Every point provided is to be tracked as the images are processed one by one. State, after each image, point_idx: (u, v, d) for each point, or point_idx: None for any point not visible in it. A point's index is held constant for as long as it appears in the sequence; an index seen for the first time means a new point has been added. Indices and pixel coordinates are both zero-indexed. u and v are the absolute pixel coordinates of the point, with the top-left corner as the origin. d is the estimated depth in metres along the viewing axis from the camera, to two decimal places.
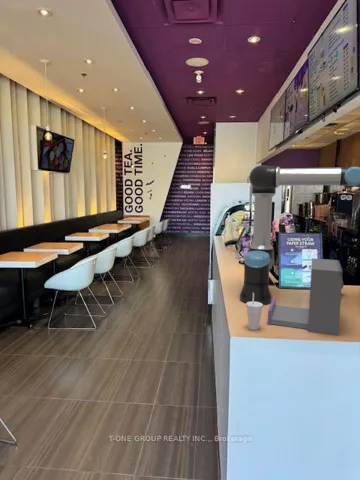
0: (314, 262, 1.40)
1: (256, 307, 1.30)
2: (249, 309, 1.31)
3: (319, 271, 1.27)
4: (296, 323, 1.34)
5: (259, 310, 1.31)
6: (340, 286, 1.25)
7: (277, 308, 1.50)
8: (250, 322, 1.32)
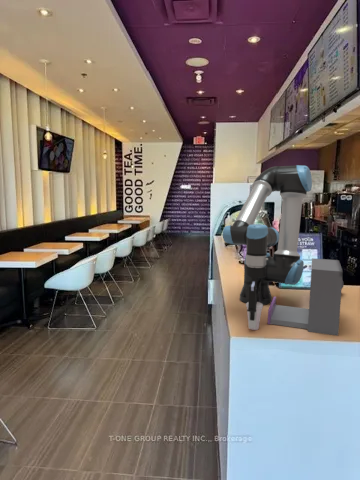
0: (314, 262, 1.40)
1: (256, 307, 1.30)
2: None
3: (319, 271, 1.27)
4: (296, 323, 1.34)
5: (259, 310, 1.31)
6: (340, 286, 1.25)
7: (277, 308, 1.50)
8: None
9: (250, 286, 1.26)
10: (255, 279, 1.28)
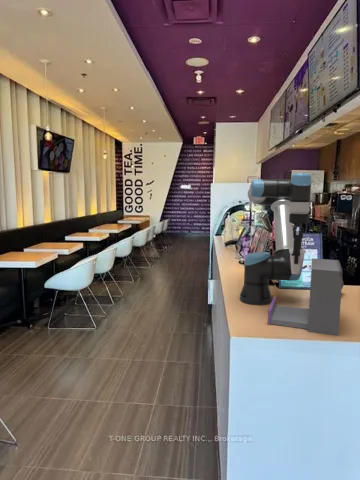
0: (314, 262, 1.40)
1: (300, 252, 1.37)
2: None
3: (319, 271, 1.27)
4: (296, 323, 1.34)
5: (302, 255, 1.38)
6: (340, 286, 1.25)
7: (277, 308, 1.50)
8: None
9: (295, 230, 1.33)
10: (299, 224, 1.35)
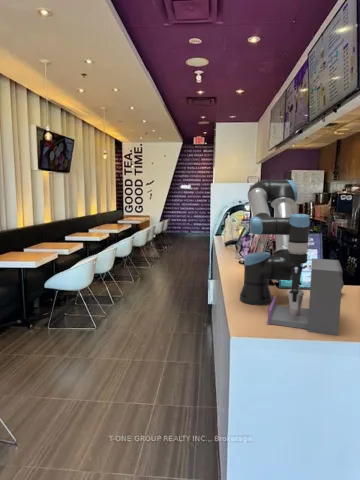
0: (314, 262, 1.40)
1: None
2: None
3: (319, 271, 1.27)
4: (296, 323, 1.34)
5: (300, 297, 1.40)
6: (340, 286, 1.25)
7: (277, 308, 1.50)
8: None
9: (294, 268, 1.35)
10: (298, 265, 1.37)
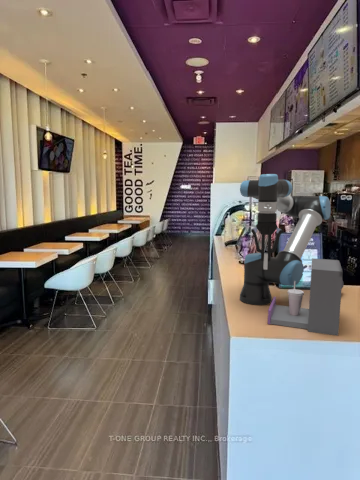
0: (314, 262, 1.40)
1: (298, 294, 1.39)
2: (291, 296, 1.41)
3: (319, 271, 1.27)
4: (296, 323, 1.34)
5: (300, 297, 1.40)
6: (340, 286, 1.25)
7: (277, 308, 1.50)
8: (292, 308, 1.42)
9: (251, 230, 1.45)
10: (257, 223, 1.43)
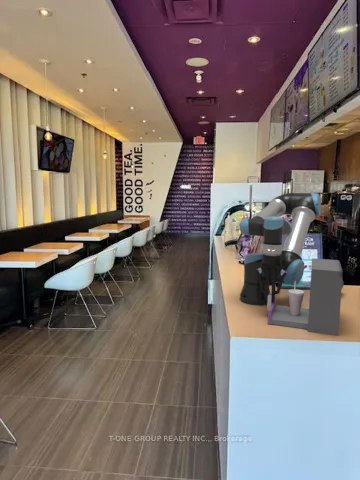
0: (314, 262, 1.40)
1: (298, 294, 1.39)
2: (291, 296, 1.41)
3: (319, 271, 1.27)
4: (296, 323, 1.34)
5: (301, 297, 1.40)
6: (340, 286, 1.25)
7: (278, 308, 1.50)
8: (292, 308, 1.42)
9: None
10: (262, 264, 1.45)
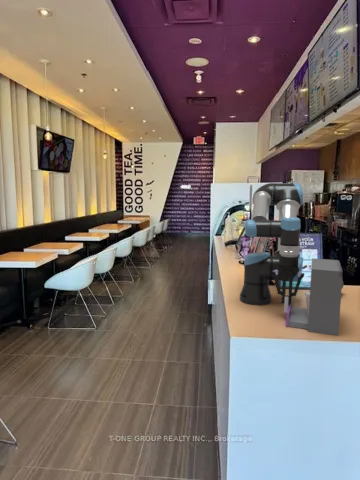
0: (314, 262, 1.40)
1: None
2: (309, 298, 1.38)
3: (319, 271, 1.27)
4: None
5: None
6: (340, 286, 1.25)
7: (294, 310, 1.48)
8: None
9: None
10: (278, 265, 1.43)
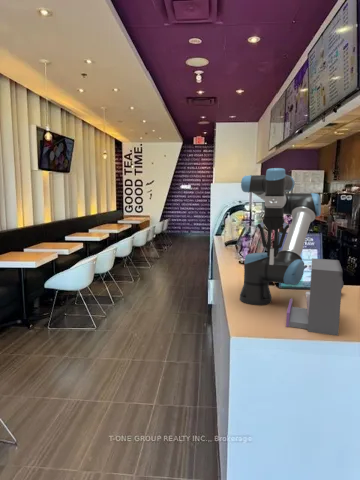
0: (314, 262, 1.40)
1: None
2: (309, 298, 1.38)
3: (319, 271, 1.27)
4: None
5: None
6: (340, 286, 1.25)
7: (294, 310, 1.48)
8: None
9: None
10: (264, 217, 1.43)
